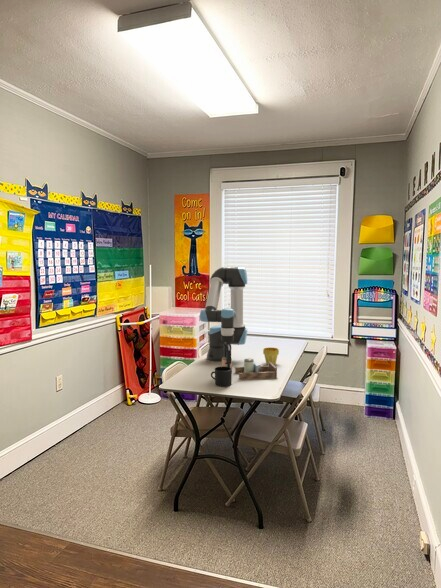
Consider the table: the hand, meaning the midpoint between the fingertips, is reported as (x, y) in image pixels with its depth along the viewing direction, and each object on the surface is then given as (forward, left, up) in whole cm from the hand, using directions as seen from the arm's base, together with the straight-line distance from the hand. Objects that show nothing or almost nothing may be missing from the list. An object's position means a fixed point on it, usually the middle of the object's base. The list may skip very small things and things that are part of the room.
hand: (227, 372), depth 243 cm
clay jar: (0, 0, -1) cm, 1 cm away
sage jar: (+13, 0, -2) cm, 13 cm away
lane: (+17, 0, -2) cm, 17 cm away
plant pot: (+34, +26, -3) cm, 43 cm away
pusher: (+18, 0, -2) cm, 19 cm away
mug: (-6, -14, -3) cm, 15 cm away
